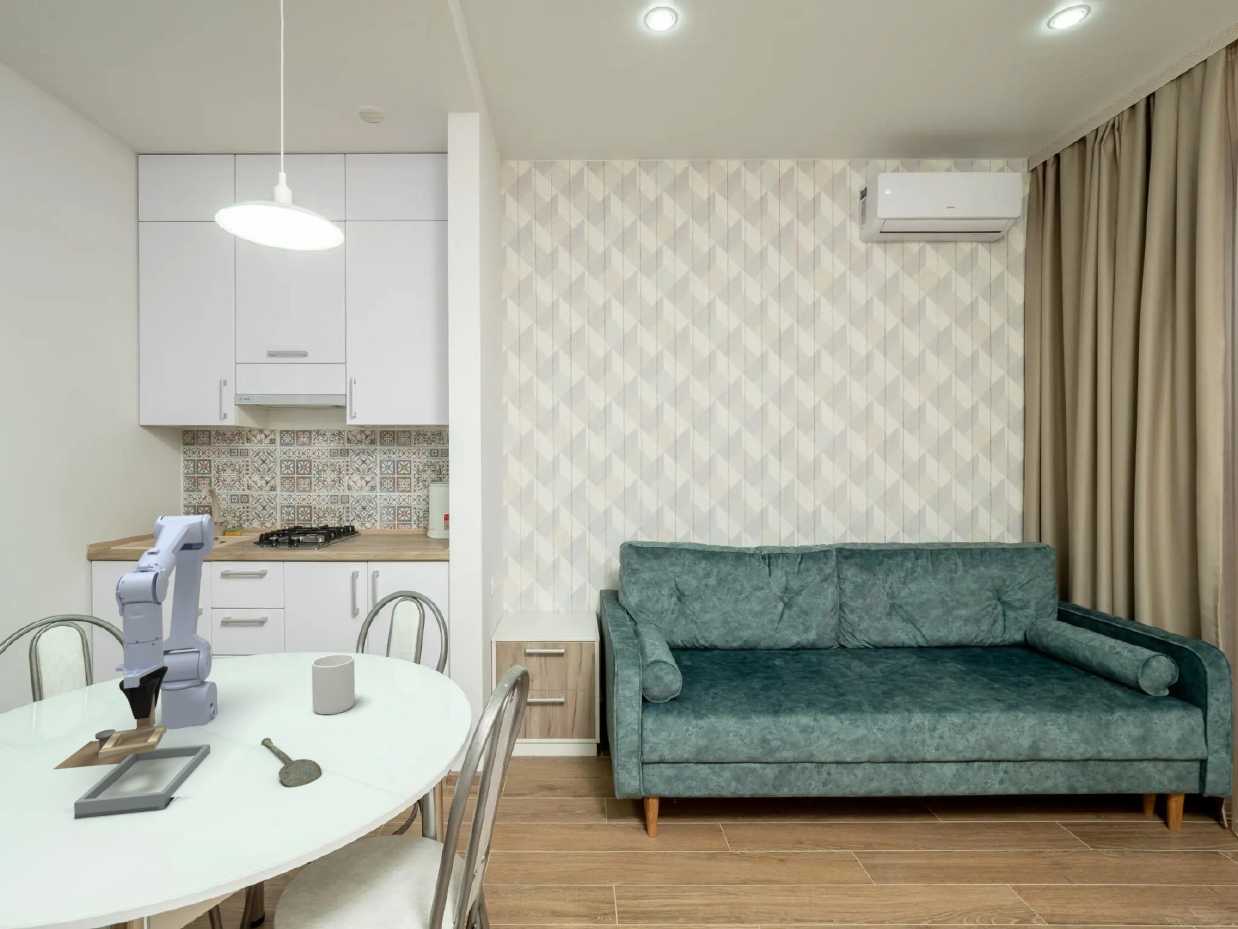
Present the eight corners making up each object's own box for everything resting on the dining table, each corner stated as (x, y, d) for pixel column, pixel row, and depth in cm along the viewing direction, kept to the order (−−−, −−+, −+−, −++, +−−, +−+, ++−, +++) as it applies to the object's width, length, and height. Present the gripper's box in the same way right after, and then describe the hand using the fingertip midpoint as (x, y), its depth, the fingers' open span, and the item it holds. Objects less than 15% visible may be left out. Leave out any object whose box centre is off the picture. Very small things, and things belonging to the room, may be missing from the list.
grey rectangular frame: (210, 757, 121) (209, 744, 121) (164, 809, 104) (163, 794, 104) (134, 764, 119) (134, 750, 119) (74, 818, 101) (74, 802, 101)
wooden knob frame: (154, 751, 108) (152, 719, 107) (98, 759, 105) (97, 726, 104) (173, 720, 119) (172, 691, 118) (123, 727, 116) (122, 697, 115)
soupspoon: (286, 798, 109) (326, 785, 114) (287, 779, 109) (327, 767, 114) (247, 750, 125) (284, 741, 129) (248, 733, 124) (285, 724, 129)
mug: (349, 692, 153) (349, 647, 152) (357, 710, 142) (356, 662, 142) (309, 699, 148) (309, 653, 148) (314, 718, 138) (313, 669, 138)
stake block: (153, 741, 128) (153, 718, 128) (123, 768, 117) (122, 743, 117) (90, 746, 126) (89, 723, 125) (53, 774, 115) (52, 749, 115)
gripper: (129, 630, 120) (131, 702, 121) (100, 653, 107) (103, 734, 107) (174, 626, 123) (176, 696, 123) (151, 648, 110) (153, 727, 110)
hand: (145, 714), depth 116 cm, fingers closed on wooden knob frame, 3 cm apart
